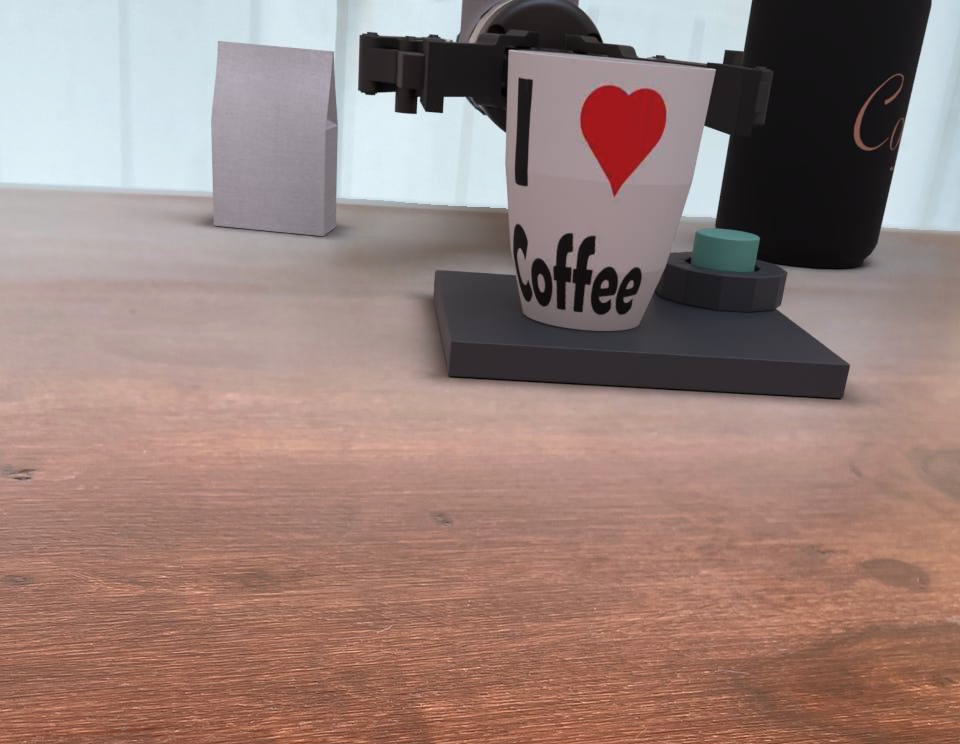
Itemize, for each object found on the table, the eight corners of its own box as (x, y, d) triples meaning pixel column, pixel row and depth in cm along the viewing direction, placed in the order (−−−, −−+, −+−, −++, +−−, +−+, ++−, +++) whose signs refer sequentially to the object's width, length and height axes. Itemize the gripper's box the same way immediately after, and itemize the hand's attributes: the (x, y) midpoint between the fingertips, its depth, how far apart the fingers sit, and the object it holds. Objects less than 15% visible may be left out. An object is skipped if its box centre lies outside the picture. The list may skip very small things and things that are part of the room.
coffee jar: (850, 277, 73) (924, -59, 65) (688, 250, 78) (738, -69, 69) (889, 257, 82) (959, -43, 73) (741, 233, 86) (791, -53, 78)
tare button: (743, 267, 58) (749, 230, 57) (760, 280, 55) (768, 241, 54) (683, 263, 58) (689, 226, 57) (698, 276, 55) (704, 237, 54)
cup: (455, 316, 49) (474, 47, 44) (532, 287, 56) (555, 50, 51) (640, 351, 46) (681, 68, 42) (698, 316, 53) (739, 69, 48)
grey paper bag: (323, 236, 72) (326, 52, 67) (213, 225, 72) (209, 41, 67) (335, 227, 75) (339, 50, 70) (230, 216, 75) (227, 40, 70)
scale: (753, 317, 61) (765, 256, 59) (853, 399, 48) (871, 324, 46) (432, 296, 59) (436, 233, 57) (448, 376, 46) (453, 298, 45)
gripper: (728, 152, 73) (853, 203, 54) (318, 120, 70) (299, 162, 51) (751, 14, 69) (892, 18, 50) (320, -25, 66) (301, -37, 48)
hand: (594, 91), depth 51 cm, fingers open, 13 cm apart
